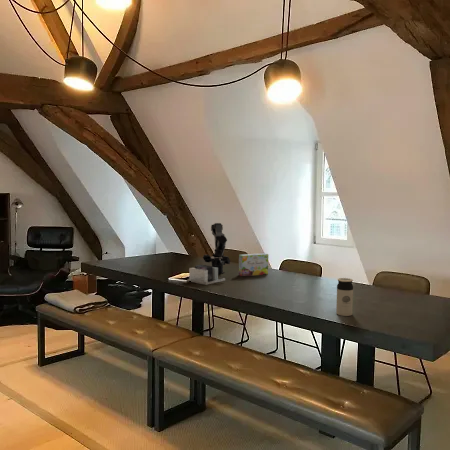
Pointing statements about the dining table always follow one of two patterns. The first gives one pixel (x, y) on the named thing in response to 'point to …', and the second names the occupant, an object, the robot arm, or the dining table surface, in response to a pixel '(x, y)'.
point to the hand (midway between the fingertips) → (212, 269)
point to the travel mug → (344, 297)
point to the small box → (206, 269)
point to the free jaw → (214, 273)
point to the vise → (201, 276)
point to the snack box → (253, 264)
